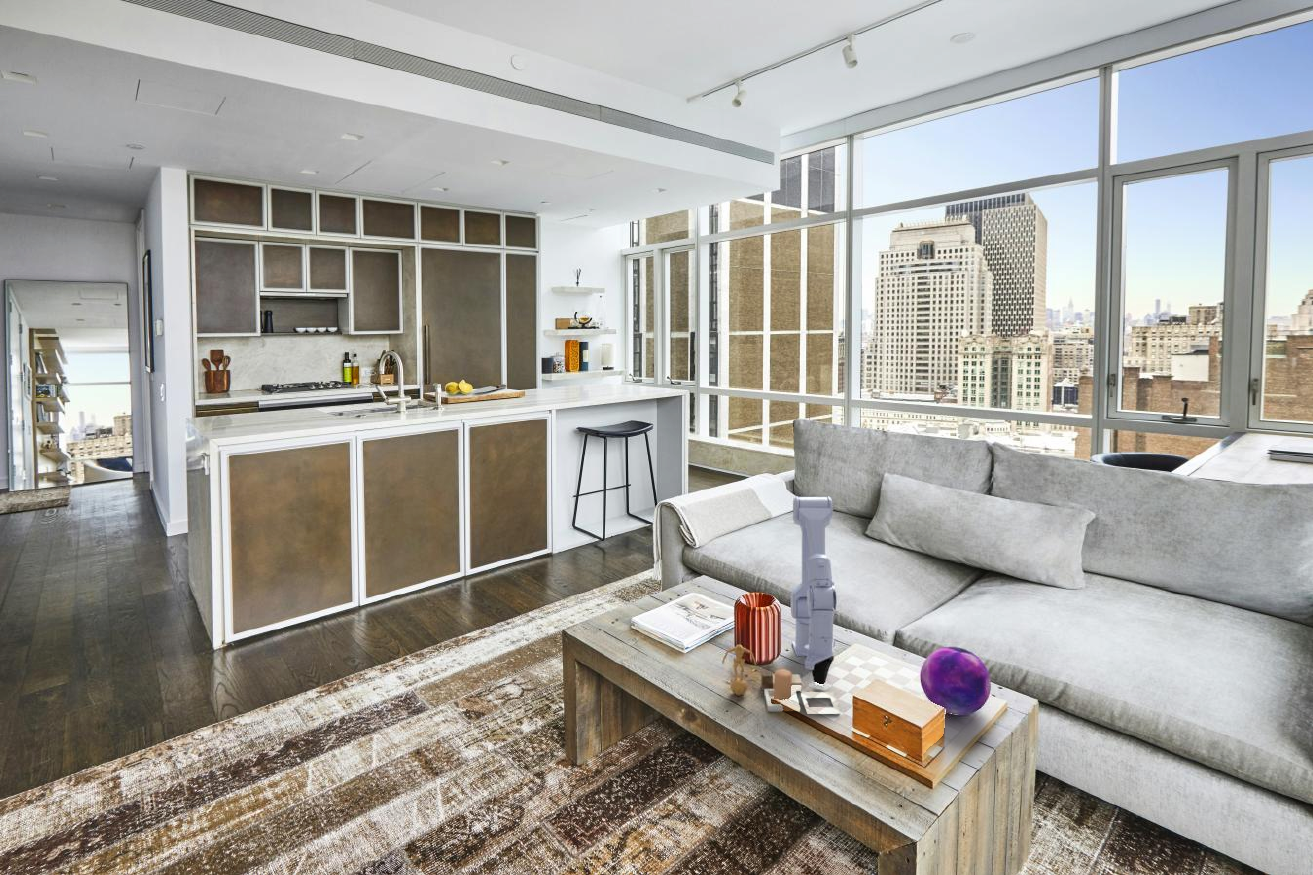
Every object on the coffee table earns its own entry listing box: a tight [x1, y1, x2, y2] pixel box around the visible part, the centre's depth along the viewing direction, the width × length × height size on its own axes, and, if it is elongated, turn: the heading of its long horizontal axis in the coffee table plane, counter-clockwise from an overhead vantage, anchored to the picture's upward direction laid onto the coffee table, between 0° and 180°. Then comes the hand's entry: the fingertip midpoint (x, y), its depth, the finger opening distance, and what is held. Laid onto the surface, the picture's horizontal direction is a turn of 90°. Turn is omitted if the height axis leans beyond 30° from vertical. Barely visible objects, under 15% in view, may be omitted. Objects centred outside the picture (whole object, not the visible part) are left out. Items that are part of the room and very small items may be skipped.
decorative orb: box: [920, 646, 992, 716], centre depth 162 cm, size 15×15×15 cm
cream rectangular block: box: [773, 673, 803, 689], centre depth 174 cm, size 7×4×2 cm, turn 88°
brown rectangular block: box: [760, 670, 774, 692], centre depth 174 cm, size 2×2×4 cm
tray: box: [763, 689, 783, 713], centre depth 168 cm, size 8×8×2 cm
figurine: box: [721, 644, 757, 696], centre depth 172 cm, size 8×6×12 cm
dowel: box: [774, 668, 793, 700], centre depth 167 cm, size 4×4×7 cm
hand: (819, 684), depth 174 cm, fingers closed
